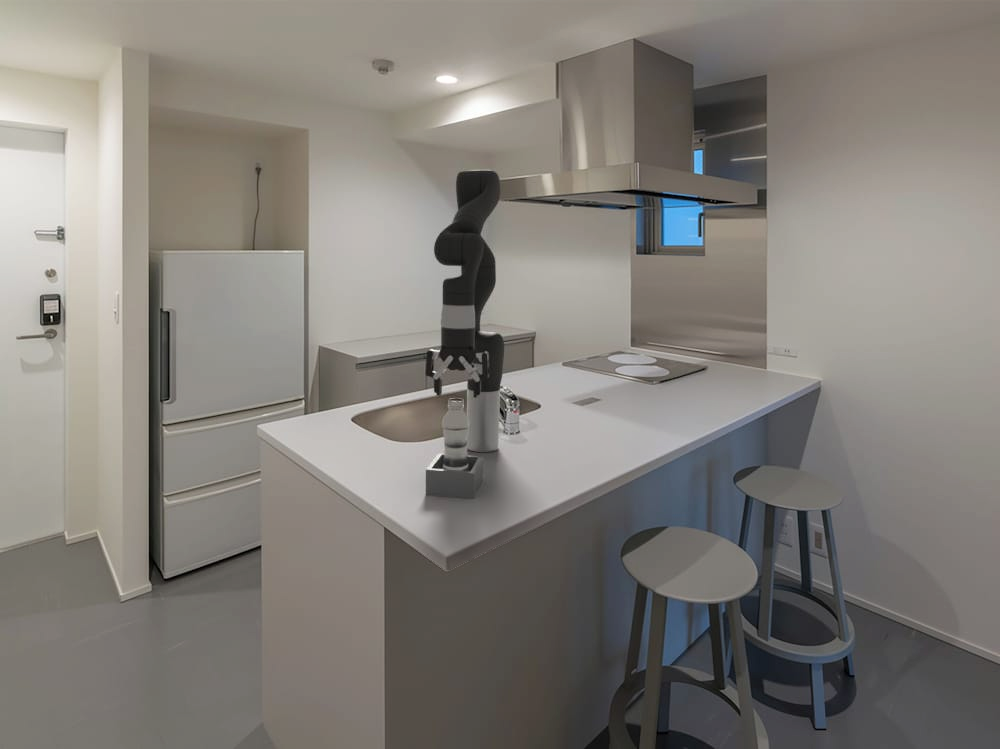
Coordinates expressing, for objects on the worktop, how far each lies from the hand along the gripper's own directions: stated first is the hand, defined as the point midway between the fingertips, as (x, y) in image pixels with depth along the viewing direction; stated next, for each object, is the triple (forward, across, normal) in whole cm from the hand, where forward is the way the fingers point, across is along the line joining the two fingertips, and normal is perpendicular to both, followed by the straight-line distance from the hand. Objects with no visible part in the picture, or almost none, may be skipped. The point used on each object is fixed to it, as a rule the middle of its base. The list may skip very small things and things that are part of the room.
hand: (457, 396), depth 135 cm
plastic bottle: (+21, 0, 0) cm, 21 cm away
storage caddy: (+22, 0, 0) cm, 22 cm away
